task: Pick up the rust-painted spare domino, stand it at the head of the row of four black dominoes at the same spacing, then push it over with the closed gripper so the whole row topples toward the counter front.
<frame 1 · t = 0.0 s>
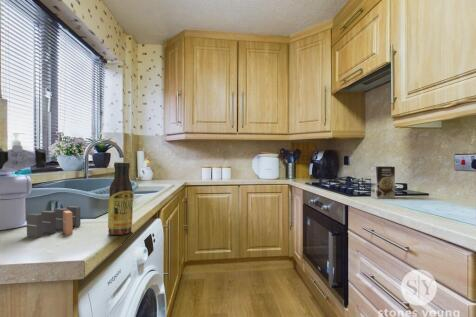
hand: (25, 156, 68), 22 cm above the countertop, tool horizontal, fingers open, 7 cm apart
domino d: (73, 225, 81), on the countertop
domino c: (61, 229, 77), on the countertop
coffee box: (382, 198, 133), on the countertop
sauce bottle: (120, 233, 73), on the countertop
spare domino: (67, 232, 73), on the countertop
domino a: (34, 236, 70), on the countertop
domino b: (48, 232, 74), on the countertop
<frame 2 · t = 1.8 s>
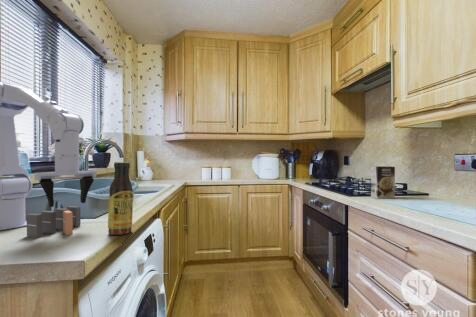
hand: (67, 204, 73), 8 cm above the countertop, tool pointing down, fingers open, 7 cm apart
nothing on the countertop moved.
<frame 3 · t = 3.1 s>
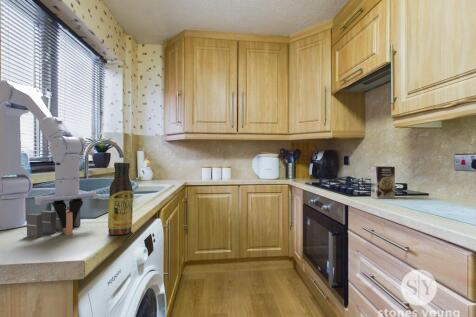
hand: (67, 226, 73), 2 cm above the countertop, tool pointing down, fingers closed on spare domino, 1 cm apart
spare domino: (67, 232, 73), on the countertop, touching gripper
everything else where it was.
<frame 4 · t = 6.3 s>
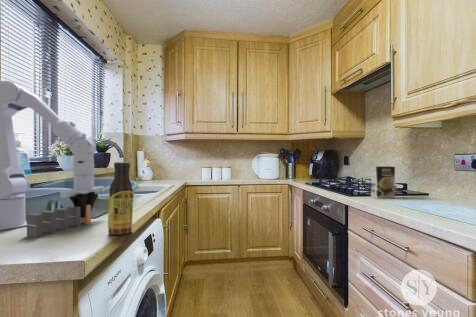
hand: (84, 216, 85), 2 cm above the countertop, tool pointing down, fingers closed on spare domino
spare domino: (84, 223, 85), on the countertop, touching gripper
everything else where it was.
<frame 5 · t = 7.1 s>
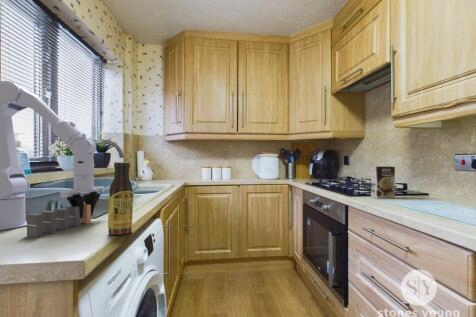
hand: (84, 216, 85), 2 cm above the countertop, tool pointing down, fingers open, 3 cm apart
domino d: (73, 225, 81), on the countertop, touching gripper
spare domino: (84, 223, 85), on the countertop
everything else where it was.
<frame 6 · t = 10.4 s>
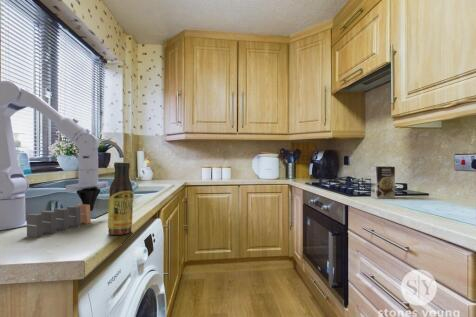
hand: (88, 210, 86), 4 cm above the countertop, tool pointing down, fingers closed
domino d: (73, 225, 81), on the countertop
spare domino: (84, 222, 85), on the countertop, touching gripper
everything else where it was.
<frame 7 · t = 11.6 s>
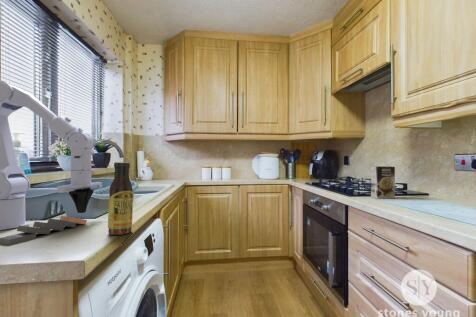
hand: (81, 212, 84), 4 cm above the countertop, tool pointing down, fingers closed
domino d: (71, 224, 80), point 1 cm above the countertop, tilted 68°, touching domino c, spare domino
domino c: (58, 227, 77), point 1 cm above the countertop, tilted 68°, touching domino b, domino d
spare domino: (81, 221, 84), point 1 cm above the countertop, tilted 68°, touching domino d
domino a: (30, 235, 69), point 1 cm above the countertop, tilted 89°
domino b: (45, 231, 73), point 1 cm above the countertop, tilted 70°, touching domino c
everything else where it was.
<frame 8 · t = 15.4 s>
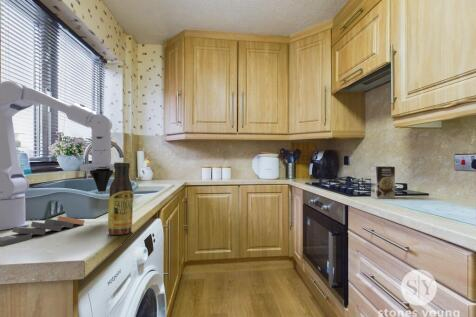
hand: (101, 191, 87), 10 cm above the countertop, tool pointing down, fingers closed
domino a: (27, 236, 69), on the countertop, tilted 89°, touching domino b
domino b: (41, 231, 73), point 1 cm above the countertop, tilted 73°, touching domino a, domino c
at the end: domino a tilted 89°; spare domino tilted 68°; the gripper is holding nothing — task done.
